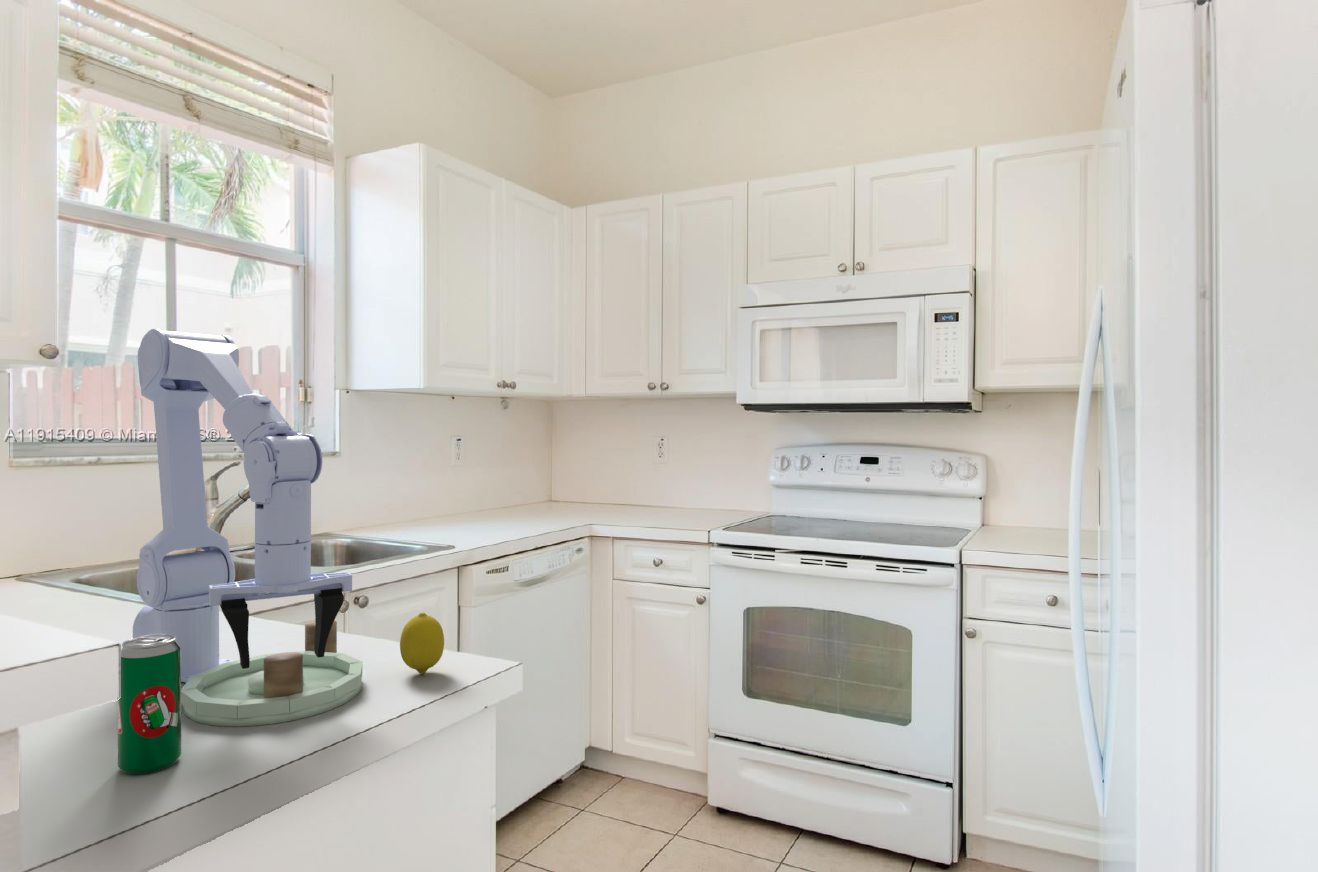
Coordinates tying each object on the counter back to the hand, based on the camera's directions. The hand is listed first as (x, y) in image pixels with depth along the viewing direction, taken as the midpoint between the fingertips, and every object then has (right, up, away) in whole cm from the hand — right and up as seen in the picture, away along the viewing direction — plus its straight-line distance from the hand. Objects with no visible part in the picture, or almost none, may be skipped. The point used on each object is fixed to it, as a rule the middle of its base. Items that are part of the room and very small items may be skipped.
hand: (283, 660), depth 88 cm
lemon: (+12, -6, +13) cm, 18 cm away
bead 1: (0, -5, 0) cm, 5 cm away
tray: (-3, -6, +5) cm, 8 cm away
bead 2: (-4, -5, +19) cm, 20 cm away
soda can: (-6, -6, -14) cm, 17 cm away
